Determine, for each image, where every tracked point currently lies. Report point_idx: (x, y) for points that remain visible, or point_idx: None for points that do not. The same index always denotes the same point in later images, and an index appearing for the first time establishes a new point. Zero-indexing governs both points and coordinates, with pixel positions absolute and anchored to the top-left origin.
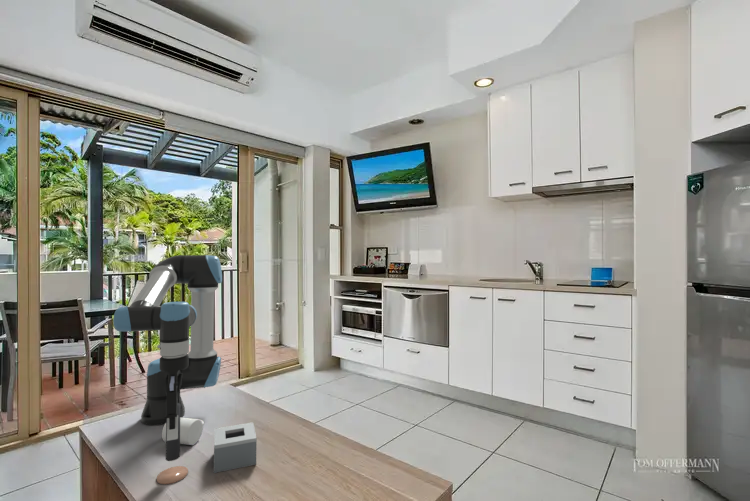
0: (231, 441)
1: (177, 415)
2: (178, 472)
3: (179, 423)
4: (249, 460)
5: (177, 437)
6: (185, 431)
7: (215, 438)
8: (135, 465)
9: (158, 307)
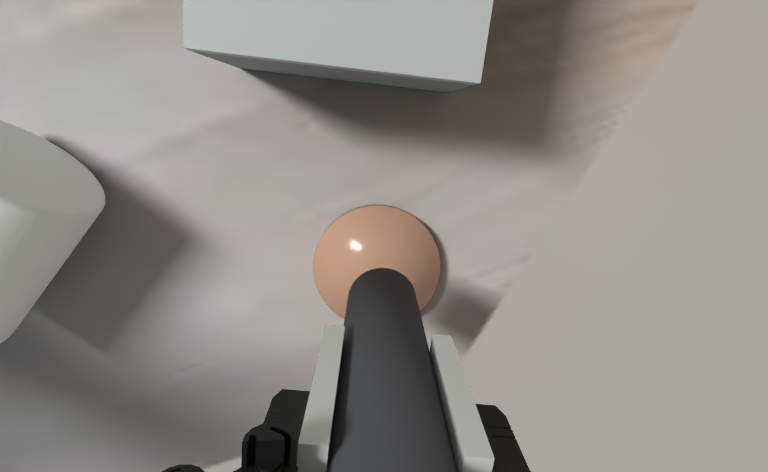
0: None
1: (473, 461)
2: (377, 246)
3: (413, 377)
4: None
5: (452, 341)
6: (54, 232)
7: (371, 61)
8: (206, 402)
9: None
